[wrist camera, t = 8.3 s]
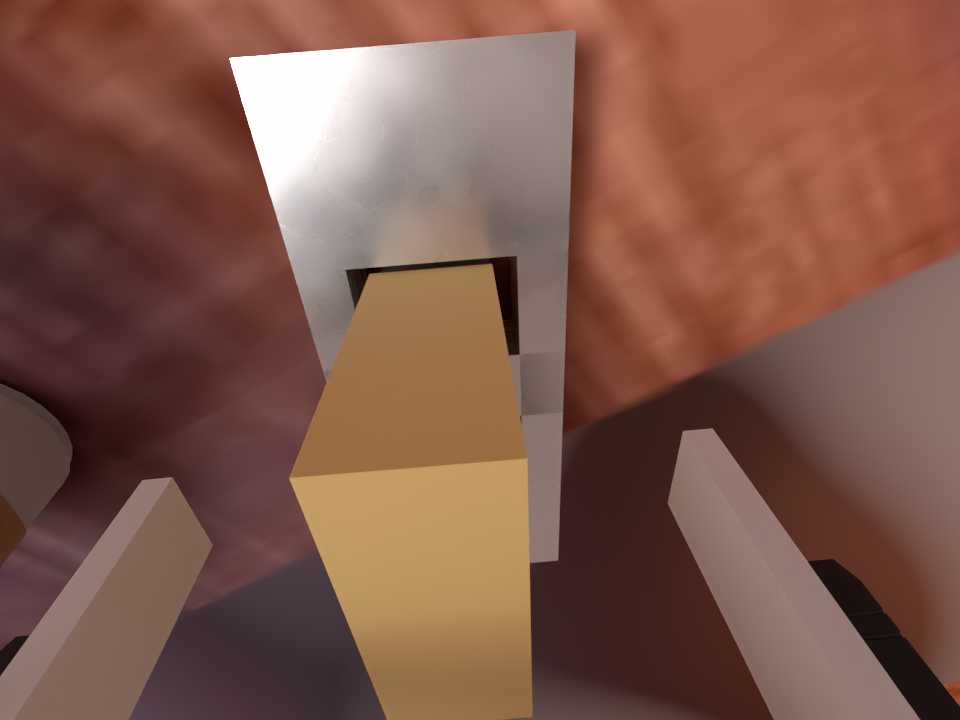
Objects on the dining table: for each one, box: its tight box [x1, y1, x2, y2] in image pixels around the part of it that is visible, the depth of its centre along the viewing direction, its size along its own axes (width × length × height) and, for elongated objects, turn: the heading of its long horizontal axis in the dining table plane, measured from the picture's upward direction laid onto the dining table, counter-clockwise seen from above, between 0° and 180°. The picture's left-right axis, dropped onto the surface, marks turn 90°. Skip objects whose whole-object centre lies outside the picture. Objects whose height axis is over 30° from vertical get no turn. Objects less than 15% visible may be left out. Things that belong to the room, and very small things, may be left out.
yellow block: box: [289, 258, 533, 720], centre depth 14 cm, size 9×4×10 cm, turn 4°
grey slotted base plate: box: [229, 30, 576, 563], centre depth 17 cm, size 20×8×2 cm, turn 4°
